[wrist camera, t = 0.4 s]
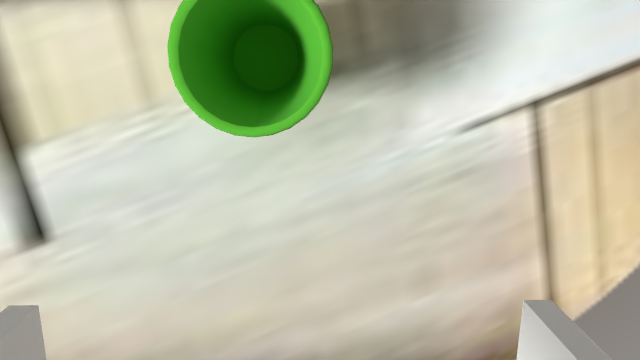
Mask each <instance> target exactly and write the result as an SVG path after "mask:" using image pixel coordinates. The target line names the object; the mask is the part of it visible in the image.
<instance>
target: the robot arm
mask: <svg viewBox="0 0 640 360" xmlns="http://www.w3.org/2000/svg"><path fill="white" fill-rule="evenodd" d="M0 360H46V353H45V347H44V340H43V334H42V327H41V321H40V314H39V308H38V305H30V306H8V307H7V308H6V309H4V310H3V311H2V312H1V313H0ZM517 360H612V359H611V358H610V357H609V356H608V355H607V354H606V353H605V352H604V351H603V350H602V349H601V348H600V347H599V346H598V345H597V344H596V343H594V342H593V341H592V340H591V339H590V338H589V337H588V336H587V335H586V334H585V333H584V332H583V331H582V330H581V329H580V328H579V327H578V326H577V325H576V324H575V323H574V322H573V321H572V320H571V319H570V318H569V317H568V316H567V315H566V314H565V313H564V312H563V311H562V310H561V309H560V308H559V307H558V306H557V305H556V304H554V303H553V302H552V301H551V300H523V309H522V318H521V326H520V335H519V343H518V352H517Z"/></svg>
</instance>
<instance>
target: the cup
mask: <svg viewBox="0 0 640 360" xmlns="http://www.w3.org/2000/svg"><path fill="white" fill-rule="evenodd" d="M168 57H169V67H170V70H171V73H172V76H173V80H174V83H175V86H176V87H177V89H178V91H179V93H180V94H181V96H182V98H183V99H184V101H185V103H186V104H187V105H188V106H189V107H190V108H191V109H192V110H193V111H194V112H195V113H196V114H197V115H198V116H199V117H200V118H201V119H202V120H204V121H206V122H207V123H209V124H210V125H212V126H213V127H215V128H216V129H219V130H222V131H224V132H227V133H230V134H233V135H238V136H246V137H260V136H268V135H274V134H276V133H279V132H281V131H284V130H287V129H289V128H291V127H293V126H294V125H295V124H297V123H298V122H300V121H301V120H303V119H304V118H305V117H307V115H308V114H309V113H310V112H311V111H312V110H313V108H314V107H315V106H316V105H317V104H318V103H319V101H320V99H321V97H322V95H323V93H324V91H325V89H326V87H327V85H328V82H329V78H330V73H331V69H332V41H331V37H330V32H329V28H328V24H327V22H326V20H325V18H324V16H323V14H322V12H321V10H320V8H319V6H318V5H317V4H316V3H315V1H314V0H183V2H182V3H181V4H180V6H179V8H178V10H177V12H176V15H175V17H174V19H173V21H172V24H171V28H170V34H169V40H168Z"/></svg>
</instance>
